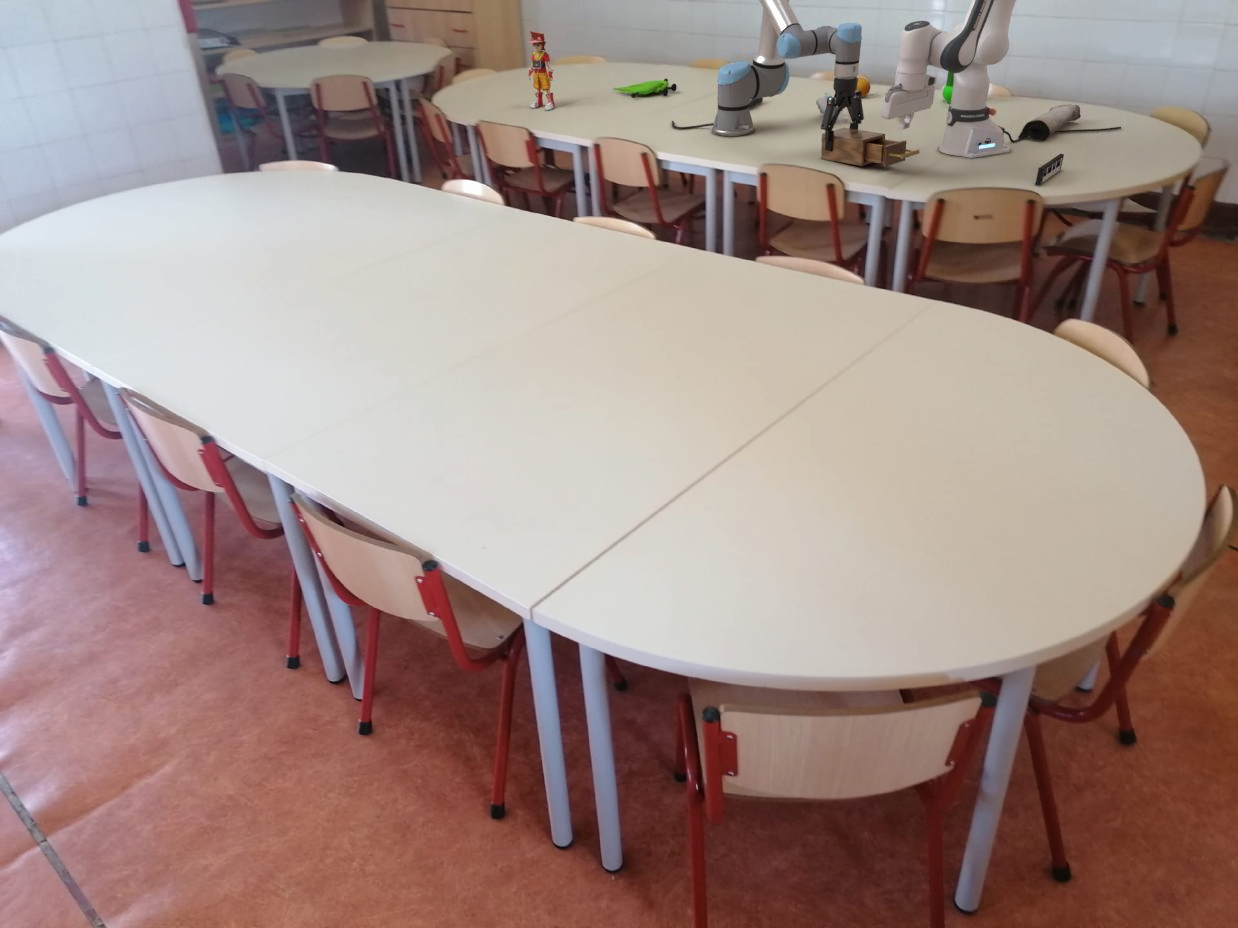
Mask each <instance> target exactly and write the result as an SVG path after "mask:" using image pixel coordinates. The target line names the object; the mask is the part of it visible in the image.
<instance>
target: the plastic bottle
mask: <svg viewBox="0 0 1238 928" xmlns="http://www.w3.org/2000/svg"><path fill="white" fill-rule="evenodd" d="M946 77H947V78H946V84H945V85H944V87H943V90H942V97H943V99H944V100H945V101H946V102H947V103H948V104H951V98H952V91H953V84H954V73H952V72H949V71H947V76H946Z"/></svg>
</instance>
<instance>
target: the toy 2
mask: <svg viewBox="0 0 1238 928" xmlns="http://www.w3.org/2000/svg"><path fill="white" fill-rule="evenodd" d="M669 85H670V83H669V79H668V78H664V79H663V80H649V81H644V82H640V83H634V84H629V85H627V86H621V87H613V88H612V89H613V90H616V91H619V92H623V93H627V94H628V93H629V94H631V95H630V96H631V98H632V99H634V98H636V96H637V95H650V94H652V93H654V94H658V93H662V95H663V96H665V97H667V96H668V95H669V90H671V91H672V92H676V91H677V84H676V83H672V84H671V86H669Z"/></svg>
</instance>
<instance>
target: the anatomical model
mask: <svg viewBox="0 0 1238 928" xmlns="http://www.w3.org/2000/svg"><path fill="white" fill-rule="evenodd" d="M828 97H831V98H832V97H833V96H832V95H830V93H828V92H825V93H824V95H823V96H822V97H819V98H817V99H816V100H815V104H816V106H817V108H818V110H819V113H820V114H822V115H824V113H825V110H826V106H827V98H828ZM844 110H846V107H845V108H843V109H842V111H841V112H840V113H839V116H838V118H837V120H836V122H835V124H836V123H837V122H848V121H849V120H850V117H848V116H847V117H846V116H844V115H843V112H844Z"/></svg>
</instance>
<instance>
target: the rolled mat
mask: <svg viewBox="0 0 1238 928" xmlns="http://www.w3.org/2000/svg"><path fill="white" fill-rule="evenodd" d="M1081 116H1082V115H1081V107H1080V105H1078V104H1072V103H1067V104H1061V105H1054V106H1052V107H1050V108H1049V110H1048V111H1047V112H1045V113H1043V114H1041V115H1038V116H1036V117H1035V118H1033V119H1031V120H1030V121H1028V122H1026V123H1025V124H1024V125H1023V127H1022V129H1021V131H1020V133H1019V135H1018V137H1017V138H1018V139H1020V138H1021V137H1024V136H1028V137H1027V138H1030V139H1032V140H1033V141H1038V142H1045V141H1047V140H1048V139H1049V138H1050V137H1051V136H1053V135H1054V134H1055V133H1054V132H1055V131H1057V130H1059V129H1060V128H1061V127H1062V126H1064V125H1065V124H1066V123H1068V122H1074V121H1077V120H1079V119H1080V118H1081ZM1018 139H1017V140H1018Z"/></svg>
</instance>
